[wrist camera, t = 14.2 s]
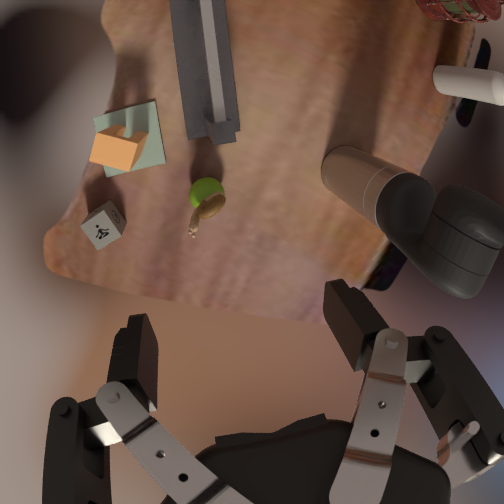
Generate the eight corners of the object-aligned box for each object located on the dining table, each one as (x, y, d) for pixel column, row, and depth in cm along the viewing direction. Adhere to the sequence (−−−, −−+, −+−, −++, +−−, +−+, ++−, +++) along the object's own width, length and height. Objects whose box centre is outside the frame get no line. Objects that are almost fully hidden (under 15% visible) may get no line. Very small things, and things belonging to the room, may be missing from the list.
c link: (148, 133, 41) (137, 143, 31) (141, 154, 42) (129, 172, 33) (116, 124, 39) (96, 132, 29) (109, 146, 40) (89, 161, 31)
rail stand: (220, -19, 30) (237, -60, 18) (239, 130, 44) (262, 145, 31) (168, -12, 29) (163, -53, 17) (187, 138, 43) (189, 157, 30)
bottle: (455, 86, 45) (561, 112, 22) (440, 99, 46) (552, 130, 23) (443, 60, 42) (555, 77, 18) (428, 72, 43) (546, 92, 19)
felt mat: (155, 101, 39) (154, 101, 38) (166, 162, 44) (165, 162, 43) (93, 117, 37) (93, 117, 37) (106, 176, 42) (106, 177, 42)
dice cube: (104, 236, 47) (97, 250, 43) (88, 213, 45) (80, 226, 40) (126, 222, 47) (121, 235, 43) (110, 199, 45) (103, 210, 40)
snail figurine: (177, 192, 47) (175, 221, 36) (207, 166, 46) (215, 188, 35) (199, 215, 49) (204, 249, 39) (229, 190, 48) (242, 219, 38)
